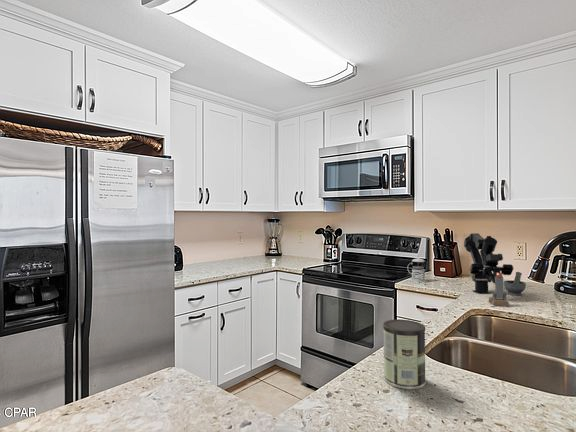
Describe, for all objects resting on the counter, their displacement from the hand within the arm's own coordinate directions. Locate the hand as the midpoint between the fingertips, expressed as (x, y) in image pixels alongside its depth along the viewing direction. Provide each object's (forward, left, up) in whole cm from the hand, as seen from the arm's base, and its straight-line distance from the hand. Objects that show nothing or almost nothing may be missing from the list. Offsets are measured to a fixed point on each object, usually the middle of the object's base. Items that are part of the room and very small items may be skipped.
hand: (495, 282), depth 172 cm
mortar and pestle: (-14, +23, -10) cm, 29 cm away
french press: (-59, -9, -10) cm, 60 cm away
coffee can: (+70, -84, -10) cm, 110 cm away
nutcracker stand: (+4, -2, -9) cm, 10 cm away
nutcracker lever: (+5, -2, -6) cm, 9 cm away
